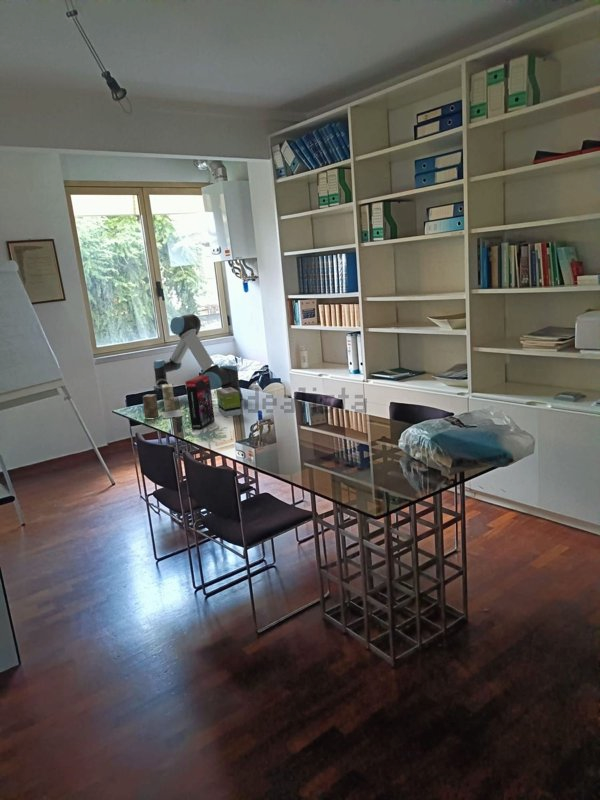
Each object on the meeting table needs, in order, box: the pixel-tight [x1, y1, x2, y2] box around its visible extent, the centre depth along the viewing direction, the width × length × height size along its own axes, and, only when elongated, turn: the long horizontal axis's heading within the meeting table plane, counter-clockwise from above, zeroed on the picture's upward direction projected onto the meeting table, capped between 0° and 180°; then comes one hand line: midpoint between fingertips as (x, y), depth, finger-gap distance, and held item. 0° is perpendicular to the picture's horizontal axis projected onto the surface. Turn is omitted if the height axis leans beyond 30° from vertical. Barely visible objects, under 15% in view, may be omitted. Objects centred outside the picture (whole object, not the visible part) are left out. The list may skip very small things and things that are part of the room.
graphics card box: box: [185, 374, 216, 430], centre depth 325 cm, size 17×7×27 cm, turn 163°
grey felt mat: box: [160, 409, 184, 419], centre depth 359 cm, size 12×18×1 cm, turn 18°
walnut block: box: [142, 393, 160, 419], centre depth 352 cm, size 6×6×14 cm
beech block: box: [162, 383, 176, 412], centre depth 369 cm, size 6×6×16 cm
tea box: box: [215, 387, 242, 418], centre depth 349 cm, size 15×10×15 cm, turn 25°
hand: (165, 391), depth 370 cm, fingers closed
